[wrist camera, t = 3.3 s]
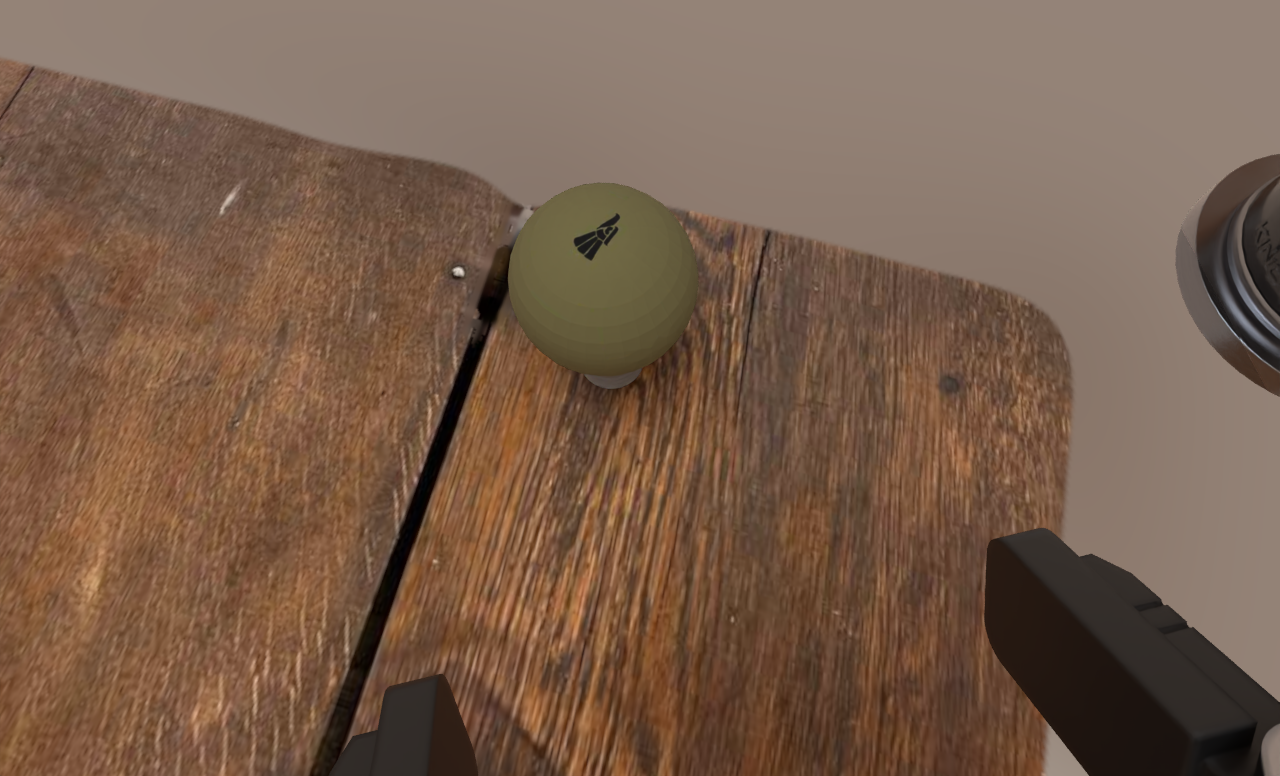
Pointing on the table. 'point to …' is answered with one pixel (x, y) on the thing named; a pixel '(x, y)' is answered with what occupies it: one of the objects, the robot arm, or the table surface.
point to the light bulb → (603, 281)
